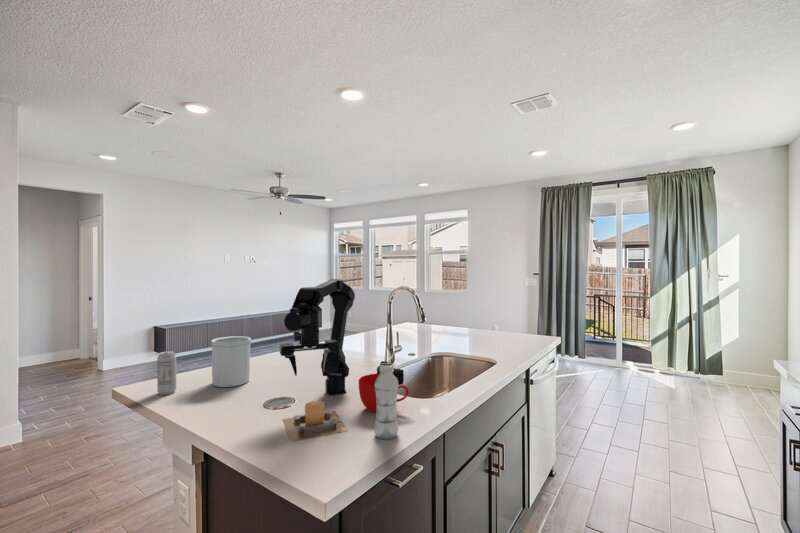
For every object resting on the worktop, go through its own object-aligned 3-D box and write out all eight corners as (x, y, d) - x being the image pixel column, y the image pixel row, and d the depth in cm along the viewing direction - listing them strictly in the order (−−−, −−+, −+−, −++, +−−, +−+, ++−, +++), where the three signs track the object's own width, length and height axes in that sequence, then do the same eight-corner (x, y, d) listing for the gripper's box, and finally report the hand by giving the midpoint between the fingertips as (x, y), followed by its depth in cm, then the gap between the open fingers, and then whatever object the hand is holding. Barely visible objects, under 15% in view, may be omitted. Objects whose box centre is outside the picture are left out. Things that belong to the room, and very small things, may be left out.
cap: (322, 419, 113) (322, 399, 113) (326, 426, 108) (326, 406, 108) (303, 422, 111) (303, 402, 111) (306, 430, 106) (306, 409, 106)
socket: (335, 412, 120) (335, 406, 120) (348, 432, 106) (348, 425, 106) (283, 420, 114) (283, 414, 114) (290, 443, 99) (290, 436, 99)
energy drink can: (180, 390, 142) (179, 350, 142) (168, 395, 136) (168, 354, 136) (165, 389, 143) (165, 350, 143) (153, 395, 137) (153, 354, 137)
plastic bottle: (373, 432, 106) (373, 362, 106) (397, 431, 106) (397, 361, 106) (374, 443, 99) (374, 368, 99) (399, 442, 100) (399, 367, 100)
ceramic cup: (401, 422, 113) (401, 389, 113) (351, 414, 119) (351, 383, 118) (414, 406, 125) (414, 376, 125) (368, 400, 131) (368, 372, 131)
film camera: (399, 392, 139) (399, 368, 139) (374, 390, 141) (374, 367, 141) (405, 380, 154) (405, 358, 154) (382, 378, 156) (382, 357, 156)
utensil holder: (238, 374, 162) (238, 334, 162) (258, 380, 153) (258, 338, 153) (204, 383, 150) (204, 339, 150) (223, 390, 141) (223, 344, 141)
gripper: (332, 320, 133) (332, 364, 133) (277, 324, 126) (277, 370, 126) (340, 325, 123) (340, 372, 123) (281, 329, 115) (281, 379, 115)
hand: (310, 373), depth 122 cm, fingers open, 9 cm apart
